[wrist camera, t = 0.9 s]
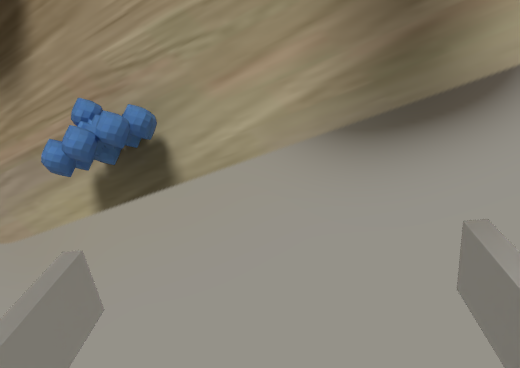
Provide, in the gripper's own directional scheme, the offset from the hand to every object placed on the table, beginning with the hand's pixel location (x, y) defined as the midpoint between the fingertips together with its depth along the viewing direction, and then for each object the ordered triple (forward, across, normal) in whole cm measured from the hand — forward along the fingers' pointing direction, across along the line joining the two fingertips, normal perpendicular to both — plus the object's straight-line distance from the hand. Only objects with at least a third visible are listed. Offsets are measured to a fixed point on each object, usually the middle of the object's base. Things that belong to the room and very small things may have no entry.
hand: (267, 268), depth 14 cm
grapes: (+28, -16, -1) cm, 32 cm away
